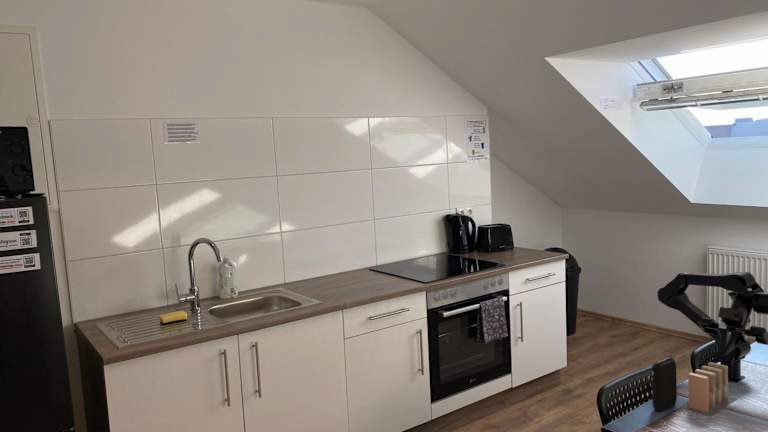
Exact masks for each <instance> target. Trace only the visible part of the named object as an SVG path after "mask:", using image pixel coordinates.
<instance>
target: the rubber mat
mask: <svg viewBox="0 0 768 432" xmlns="http://www.w3.org/2000/svg"><path fill="white" fill-rule="evenodd" d="M737 400H738V398H736V397H732V396H729V395H728V399H727V400H723V399H722V403H721V404H717V403H716V407H714V408H710V407H709V411H708V412H707V413H706V412H703V411H699V410H696V409H692V408H689V400H688V401H687V402H685V403H683V404H682V405H680V406H679V408H680V409H684V410H687V411H690V412H694V413H697V414H700V415H703V416H707V417H713V416H714V415H716V414H717V413H719V412H721V411H722V410H723V409H724V408H727V407H728V406H730V405H731V404H733V403H734V402H736V401H737Z"/></svg>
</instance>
